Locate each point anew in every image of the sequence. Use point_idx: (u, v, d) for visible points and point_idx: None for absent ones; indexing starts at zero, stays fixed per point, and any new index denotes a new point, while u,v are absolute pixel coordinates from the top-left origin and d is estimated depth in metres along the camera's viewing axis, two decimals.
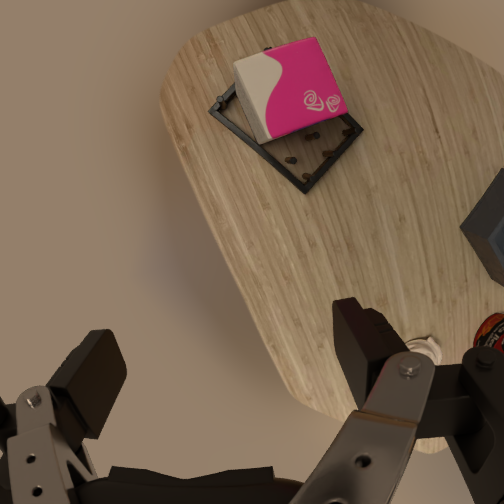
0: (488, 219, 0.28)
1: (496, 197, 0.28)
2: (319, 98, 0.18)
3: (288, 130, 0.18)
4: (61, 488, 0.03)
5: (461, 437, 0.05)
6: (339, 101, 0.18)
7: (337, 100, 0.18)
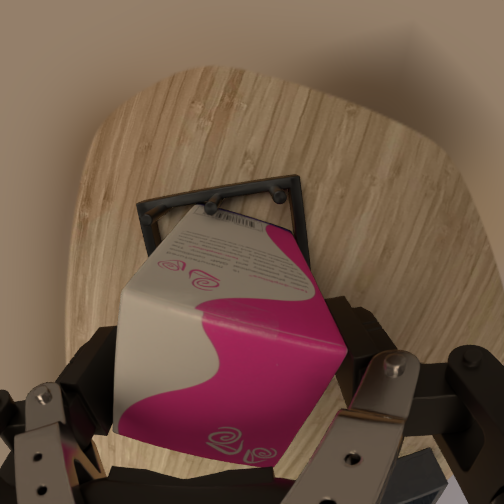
0: None
1: (396, 478, 0.23)
2: (240, 442, 0.08)
3: None
4: (66, 488, 0.03)
5: (450, 436, 0.06)
6: (272, 457, 0.09)
7: (269, 455, 0.09)
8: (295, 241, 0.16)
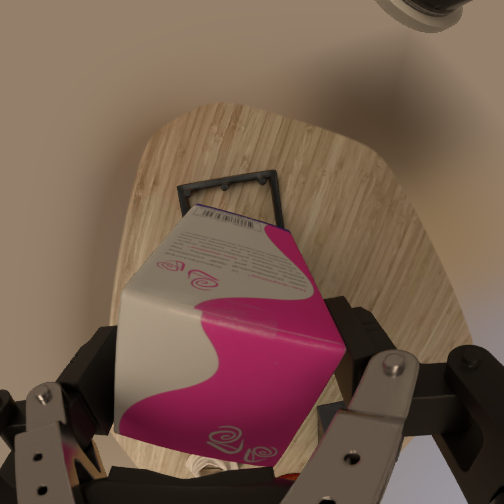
0: None
1: None
2: (240, 442, 0.08)
3: None
4: (66, 488, 0.03)
5: (449, 436, 0.06)
6: (273, 455, 0.09)
7: (270, 454, 0.09)
8: (294, 241, 0.16)
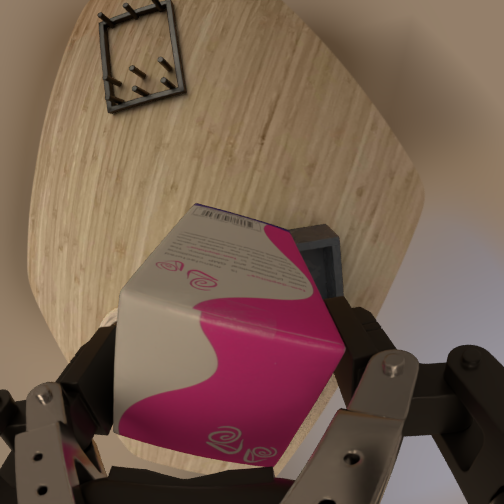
0: None
1: None
2: (240, 442, 0.08)
3: (152, 444, 0.08)
4: (67, 488, 0.03)
5: (449, 436, 0.06)
6: (272, 455, 0.09)
7: (269, 454, 0.09)
8: (293, 241, 0.16)
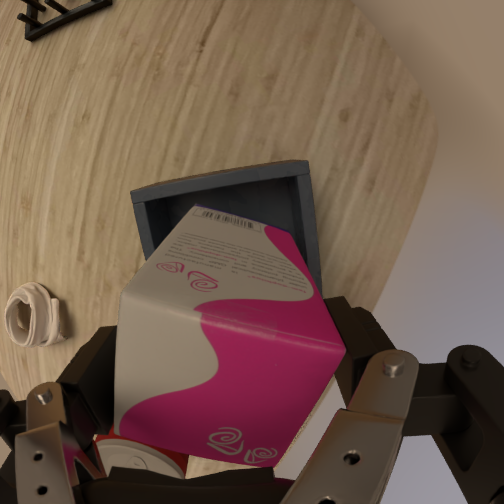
0: (173, 180, 0.20)
1: (225, 170, 0.21)
2: (240, 443, 0.08)
3: (153, 445, 0.08)
4: (67, 488, 0.03)
5: (449, 436, 0.06)
6: (273, 457, 0.09)
7: (270, 455, 0.09)
8: None
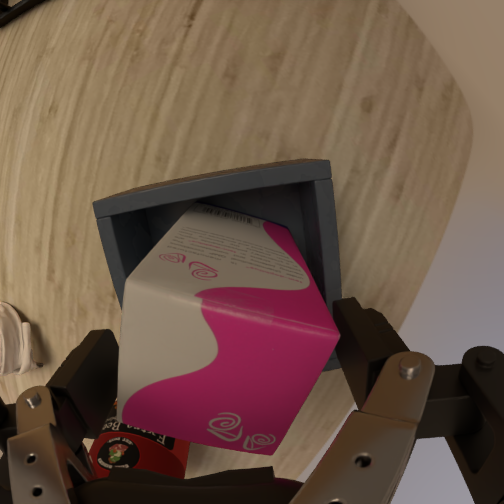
0: (150, 186, 0.15)
1: (218, 172, 0.16)
2: (240, 429, 0.09)
3: (154, 432, 0.09)
4: (61, 488, 0.03)
5: (461, 437, 0.05)
6: (271, 443, 0.09)
7: (268, 441, 0.09)
8: None
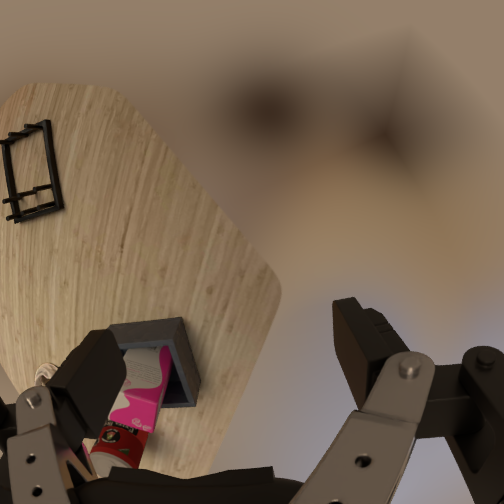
0: (115, 336, 0.36)
1: (140, 330, 0.37)
2: (140, 423, 0.30)
3: (118, 422, 0.30)
4: (61, 488, 0.03)
5: (461, 437, 0.05)
6: (150, 428, 0.30)
7: (149, 428, 0.30)
8: None
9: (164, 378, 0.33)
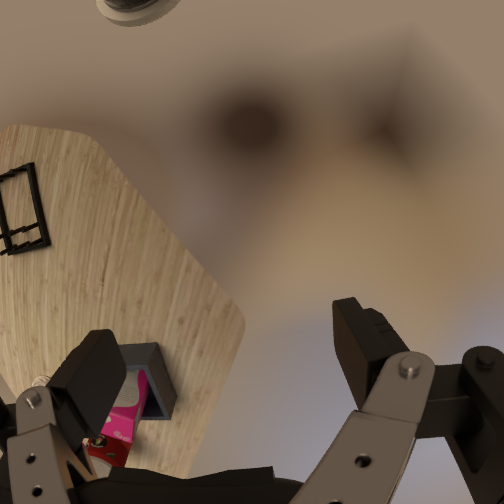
0: None
1: (121, 353, 0.41)
2: (121, 435, 0.34)
3: (103, 433, 0.34)
4: (61, 488, 0.03)
5: (461, 437, 0.05)
6: (129, 439, 0.34)
7: (128, 439, 0.34)
8: None
9: (141, 397, 0.37)
